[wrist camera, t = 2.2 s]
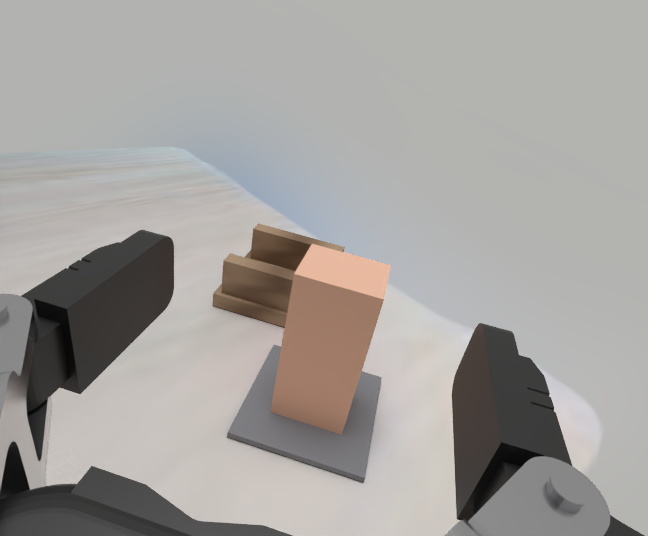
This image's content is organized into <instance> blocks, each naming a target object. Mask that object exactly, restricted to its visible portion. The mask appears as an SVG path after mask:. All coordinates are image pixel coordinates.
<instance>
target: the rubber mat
mask: <svg viewBox="0 0 648 536" xmlns="http://www.w3.org/2000/svg"><path fill="white" fill-rule="evenodd" d="M280 352H281V347H280V346H277V345H274V346H273V347H272V349H271V351H270V353H269V355H268V357H267V359H266V361H265V363H264V365H263V366H262V368H261V370H260V372H259V374H258V376H257V378H256V380H255V382H254V383H253V385H252V387H251V389H250V391H249V393H248V395H247V397H246V399H245V400H244V402H243V404H242V406H241V408H240V410H239V412H238V414H237V416H236V418H235V419H234V421H233V423H232V425H231V427H230V429H229V431H228V434H227V437H229V438H232V439H235V440H238V441H241V442H244V443H247V444H250V445H253V446H256V447H259V448H262V449H265V450H268V451H271V452H274V453H277V454H280V455H283V456H286V457H289V458H292V459H295V460H298V461H301V462H304V463H307V464H310V465H313V466H316V467H319V468H322V469H325V470H328V471H331V472H334V473H337V474H340V475H343V476H346V477H349V478H352V479H355V480H358V481H361V482H363V481H364V478H365V473H366V467H367V461H368V455H369V449H370V443H371V437H372V431H373V425H374V419H375V413H376V407H377V402H378V396H379V390H380V384H381V378H382V377H378V376H375V375H372V374H368V373H365V372H362V371H361V375H360V378H359V381H358V384H357V387H356V391H355V394H354V397H353V400H352V404H351V407H350V410H349V413H348V417H347V420H346V423H345V426H344V429H343V433H342V435H340V434H337V433H334V432H331V431H328V430H325V429H322V428H319V427H315V426H312V425H309V424H306V423H303V422H300V421H297V420H294V419H291V418H288V417H284V416H281V415H278V414H275V413H272V412H270V410H271V404H272V399H273V393H274V387H275V381H276V375H277V370H278V364H279V358H280Z"/></svg>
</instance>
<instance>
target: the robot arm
mask: <svg viewBox="0 0 648 536" xmlns="http://www.w3.org/2000/svg"><path fill="white" fill-rule="evenodd" d="M173 290H174V245H173V241H172V239H171V238H170V237H167V236H163V235H160V234H156V233H152V232H149V231H145V230H140V231H138V232H136V233H135V234H133V235H132V236H130V237H129V238H127V239H126V240H124V241H122V242H121V243H119V242H118V243H114V244H111V245H108V246H104V247H101V248H98V249H96V250H94V251H93V252H91V253H90V254H88V255H86V256H85V257H83V258H82V260H81V261H80V260H78V261H77V262H75V263H73V264H72V265H70V266H69V268H68V269H66V268H65V269H64V270H62V271H61V272H59V273H57V274H56V275H54V276H53V277H51V278H49V279H48V280H46V281H44V282H43V283H41V284H40V285H38V286H36V287H35V288H33V289H32V290H30V291H28V292H27V293H25V294H24V295H22V296H18V295H13V294H0V536H292V535H289V534H286V533H283V532H280V531H278V530H275V529H272V528H269V527H266V526H263V525H248V524H232V523H217V522H202V521H197V520H194V519H192V518H191V517H189V516H188V515H186V514H185V513H184V512H182V511H181V510H180V509H178V508H177V507H175V506H174V505H173V504H171V503H170V502H169V501H167V500H166V499H165V498H163V497H162V496H160V495H159V494H158V493H156V492H155V491H154V490H152V489H151V488H150V487H148V486H147V485H145V484H142V483H139V482H136V481H134V480H131V479H128V478H125V477H122V476H119V475H116V474H113V473H110V472H108V471H105V470H102V469H99V468H96V467H93V466H91V468H90V469H89V470H88V471H87V473H86V474H85V475H84V476H83V478H82V479H81V480H80V481H79V483H78V484H59V485H51V486H46V464H47V454H48V443H49V433H50V422H51V412H52V400H51V395H52V394H53V393H54V392H55V391H56V390H57V389H58V388H59V387H60V388H63V389H66V390H69V391H72V392H75V393H78V394H81V393H82V392H83V391H84V390H85V389H86V388H87V387H88V386H89V385H90V384H91V383H92V382H93V381H94V380H95V379H96V378H97V377H98V376H99V375H100V374H101V373H102V372H103V371H104V370H105V369H106V368H107V367H108V366H109V365H110V364H111V363H112V362H113V361H114V360H115V359H116V358H117V357H118V356H119V355H120V354H121V353H122V352H123V351H124V350H125V349H126V348H127V347H128V346H129V345H130V344H131V343H132V342H133V341H134V340H135V339H136V338H137V337H138V336H139V335H140V334H141V333H142V332H143V331H144V330H145V329H146V328H147V327H148V326H149V325H150V324H151V323H152V322H153V321H154V320H155V319H156V318H157V317H158V316H159V315H160V314H161V313H162V312H163V311H164V310H165V309H166V308H167V306H168V304H169V303H170V301H171V298H172V295H173ZM549 394H550V393H549V390H548V387H547V384H546V381H545V377H544V375H543V374H542V373H541V371H540V370H539V369H538V368H537V366H536V365H535V364H534V363H533V361H532V360H531V359H530V358H527V357H523V356H520V355H519V354H518V350H517V346H516V342H515V338H514V334H513V333H512V332H511V331H507V330H504V329H500V328H496V327H493V326H489V325H486V324H482V323H480V324H478V326H477V327H476V329H475V331H474V333H473V335H472V337H471V340H470V342H469V344H468V346H467V349H466V351H465V353H464V356H463V358H462V360H461V362H460V365H459V367H458V369H457V372H456V375H455V378H454V383H453V389H452V407H453V432H454V457H455V483H456V508H457V519H458V520H461V521H460V522H458V523H457V524H456V525H455V526H454V527H453V528H452V529H451V530H450V531H449V532H448V533H447V534H446V535H445V536H644V535H642V534H640V533H639V532H637V531H635V530H634V529H632V528H630V527H628V526H627V525H625V524H623V523H622V522H620V521H618V520H617V519H615V518H614V517H612V516H611V515H610V512H609V509H608V506H607V503H606V501H605V499H604V498H603V496H602V495H601V493H600V491H599V490H598V489H597V488H596V486H595V485H594V484H593V483H592V482H591V481H590V480H589V479H588V478H587V477H586V476H585V475H584V474H582V473H581V472H580V471H578V470H577V469H576V468H574V467H572V464H571V460H570V457H569V454H568V451H567V448H566V444H565V441H564V438H563V435H562V432H561V429H560V425H559V422H558V419H557V416H556V413H555V412H554V406H553V403H552V400H551V397H549Z"/></svg>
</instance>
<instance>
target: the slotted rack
mask: <svg viewBox="0 0 648 536" xmlns="http://www.w3.org/2000/svg"><path fill="white" fill-rule="evenodd" d="M312 244H315V245H319V246H322V247H326V248H330V249H333V250H337V251H341V252H343V251H344V247H342V246H338V245H334V244H331V243H327V242H323V241H320V240H316V239H313V238H309V237H305V236H302V235H298V234H295V233H291V232H287V231H284V230H280V229H276V228H273V227H269V226H265V225H262V224H258V225H257V226H256V227H255V228H254V229H253V238H252V247H251V251H250V252H249V253H248V254H247V255H246V256H245V258H244V257H241V256H237V255H234V254H229V255H228V257H227V258H226V259H225V260H224V263H223V277H222V284H221V285H220V287H219V288H218V289H217V290H216V291H215V292H214V294H213V306H215V307H218V308H222V309H225V310H228V311H232V312H235V313H238V314H242V315H245V316H248V317H252V318H255V319H258V320H262V321H265V322H268V323H272V324H275V325H278V326H282V327H285V323H286V317H287V312H288V306H289V300H290V294H291V288H292V283H293V277H294V273H295V271H296V270H297V268H298V266H299V265H300V263H301V261H302V260H303V258H304V256H305V255H306V253H307V251H308V250H309V248H310V246H311V245H312Z"/></svg>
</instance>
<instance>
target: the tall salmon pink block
mask: <svg viewBox="0 0 648 536" xmlns="http://www.w3.org/2000/svg"><path fill="white" fill-rule="evenodd" d="M390 267H391V265H387V264H384V263H380V262H377V261H373V260H369V259H366V258H362V257H359V256H355V255H351V254H348V253H344V252H341V251H337V250H333V249H330V248H326V247H322V246H319V245H315V244H312V245H311V246H310V248H309V250H308V251H307V253H306V255H305V256H304V258H303V260H302V261H301V263H300V265H299V266H298V268H297V270H296V271H295V273H294V277H293V283H292V288H291V294H290V300H289V306H288V312H287V317H286V323H285V329H284V335H283V341H282V346H281V352H280V358H279V364H278V370H277V375H276V381H275V387H274V393H273V399H272V404H271V410H270V412H272V413H275V414H278V415H281V416H284V417H288V418H291V419H294V420H297V421H300V422H303V423H306V424H309V425H312V426H315V427H319V428H322V429H325V430H328V431H331V432H334V433H337V434H340V435H342V433H343V429H344V426H345V423H346V420H347V417H348V413H349V410H350V407H351V404H352V400H353V397H354V394H355V391H356V387H357V384H358V381H359V378H360V375H361V371H362V368H363V365H364V362H365V358H366V355H367V352H368V349H369V346H370V342H371V339H372V336H373V333H374V329H375V326H376V323H377V320H378V316H379V313H380V310H381V307H382V304H383V300H384V296H385V291H386V286H387V282H388V276H389V272H390Z"/></svg>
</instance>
